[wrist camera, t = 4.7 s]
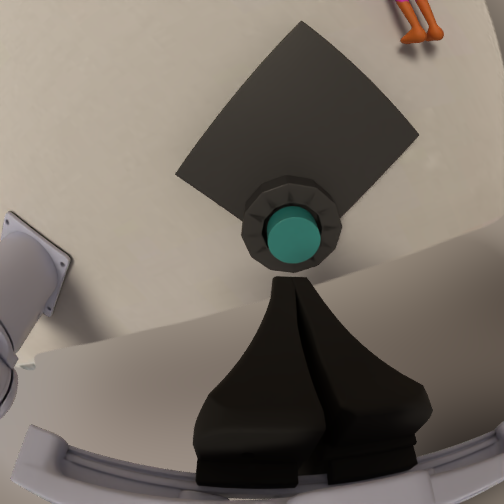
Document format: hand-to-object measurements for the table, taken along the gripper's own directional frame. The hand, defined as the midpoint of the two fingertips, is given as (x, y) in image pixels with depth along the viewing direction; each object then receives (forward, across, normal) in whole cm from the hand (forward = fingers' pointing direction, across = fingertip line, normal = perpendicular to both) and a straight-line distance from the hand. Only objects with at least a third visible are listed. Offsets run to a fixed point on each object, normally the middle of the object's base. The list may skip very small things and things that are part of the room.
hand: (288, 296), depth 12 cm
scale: (+10, -1, -4) cm, 11 cm away
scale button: (+7, -1, +1) cm, 7 cm away
